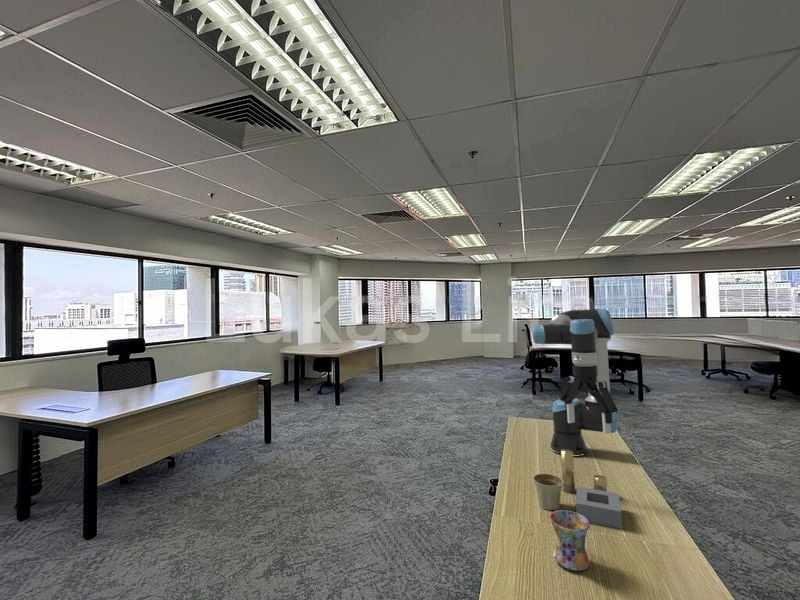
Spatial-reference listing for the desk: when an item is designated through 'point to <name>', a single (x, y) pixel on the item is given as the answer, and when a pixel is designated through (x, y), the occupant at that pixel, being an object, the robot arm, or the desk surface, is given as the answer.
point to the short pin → (600, 482)
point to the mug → (570, 539)
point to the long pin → (568, 471)
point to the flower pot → (548, 490)
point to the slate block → (599, 507)
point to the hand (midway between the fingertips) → (588, 427)
